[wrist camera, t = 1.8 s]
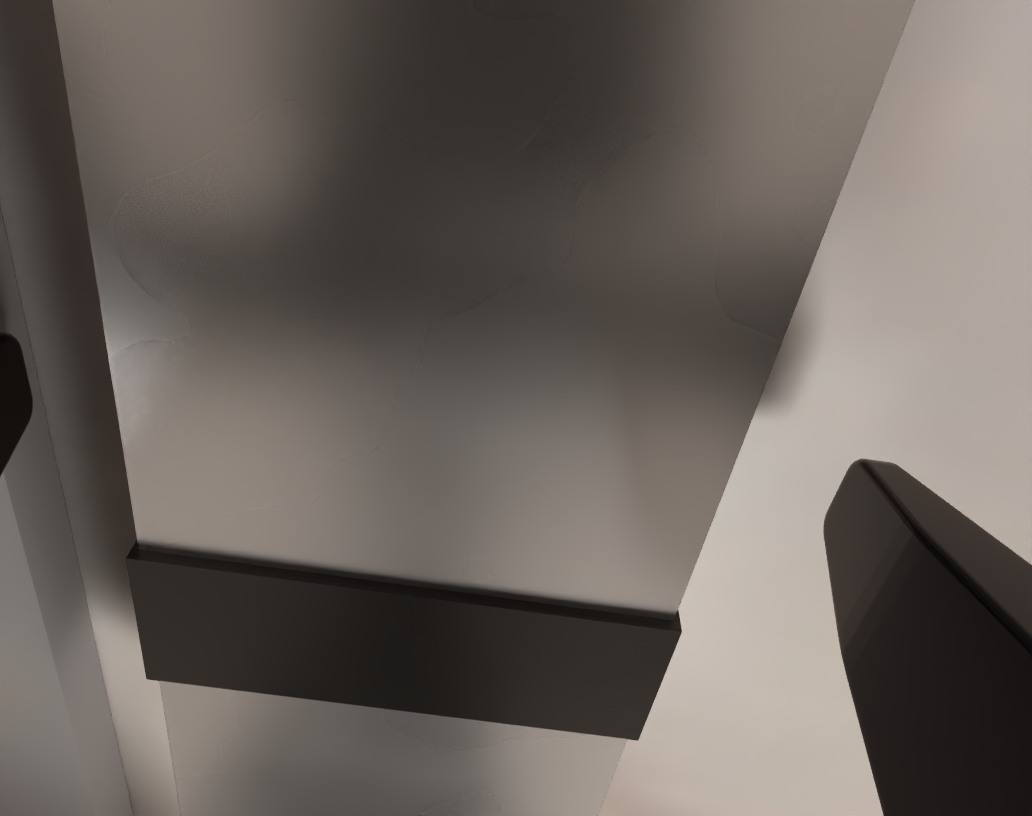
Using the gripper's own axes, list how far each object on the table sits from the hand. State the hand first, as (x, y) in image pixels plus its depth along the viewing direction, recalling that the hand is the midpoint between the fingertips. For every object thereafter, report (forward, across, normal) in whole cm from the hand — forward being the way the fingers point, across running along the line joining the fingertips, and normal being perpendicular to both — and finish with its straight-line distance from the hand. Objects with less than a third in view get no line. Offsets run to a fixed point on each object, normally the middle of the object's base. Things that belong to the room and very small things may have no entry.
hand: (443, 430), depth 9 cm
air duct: (+1, 0, 0) cm, 1 cm away
